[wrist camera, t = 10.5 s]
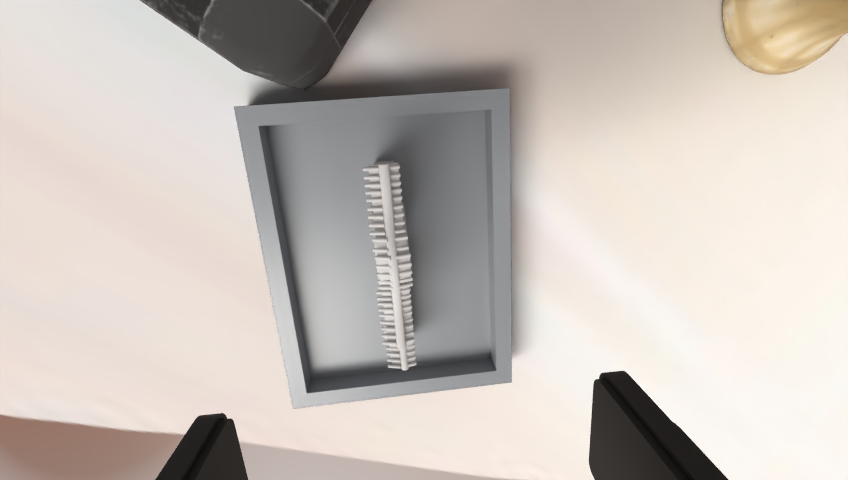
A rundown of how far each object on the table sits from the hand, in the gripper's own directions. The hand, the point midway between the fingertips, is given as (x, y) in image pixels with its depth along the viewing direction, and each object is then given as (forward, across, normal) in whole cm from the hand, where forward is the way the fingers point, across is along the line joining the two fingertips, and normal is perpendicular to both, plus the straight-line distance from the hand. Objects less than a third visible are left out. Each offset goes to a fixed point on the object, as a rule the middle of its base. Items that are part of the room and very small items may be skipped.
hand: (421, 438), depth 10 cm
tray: (+15, +1, 0) cm, 15 cm away
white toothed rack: (+15, +1, 0) cm, 15 cm away
